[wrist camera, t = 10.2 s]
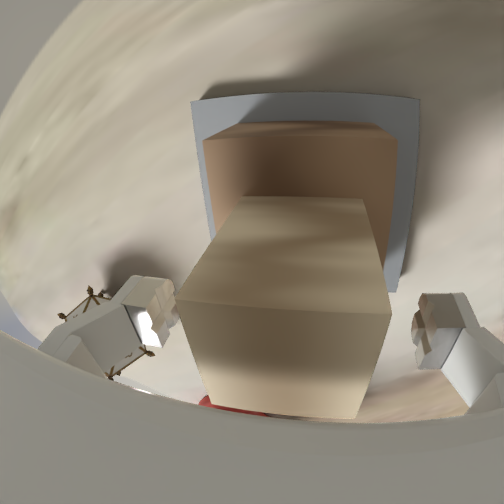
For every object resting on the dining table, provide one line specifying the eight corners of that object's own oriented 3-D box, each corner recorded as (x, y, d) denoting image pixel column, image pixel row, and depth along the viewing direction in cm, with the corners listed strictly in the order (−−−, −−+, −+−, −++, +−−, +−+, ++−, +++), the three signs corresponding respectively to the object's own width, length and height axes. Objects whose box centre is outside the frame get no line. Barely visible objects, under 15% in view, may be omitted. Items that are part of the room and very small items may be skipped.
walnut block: (373, 122, 13) (397, 139, 9) (362, 272, 17) (370, 331, 13) (237, 123, 14) (202, 140, 10) (252, 267, 19) (231, 322, 15)
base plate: (412, 98, 12) (419, 99, 11) (393, 281, 19) (395, 292, 18) (198, 100, 15) (190, 101, 14) (224, 273, 21) (219, 283, 20)
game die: (131, 269, 29) (60, 262, 19) (187, 327, 27) (123, 346, 17) (93, 329, 29) (25, 338, 20) (141, 385, 27) (77, 415, 18)
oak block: (362, 198, 10) (391, 313, 5) (352, 295, 12) (354, 418, 7) (241, 196, 11) (174, 299, 6) (252, 290, 13) (211, 404, 9)
